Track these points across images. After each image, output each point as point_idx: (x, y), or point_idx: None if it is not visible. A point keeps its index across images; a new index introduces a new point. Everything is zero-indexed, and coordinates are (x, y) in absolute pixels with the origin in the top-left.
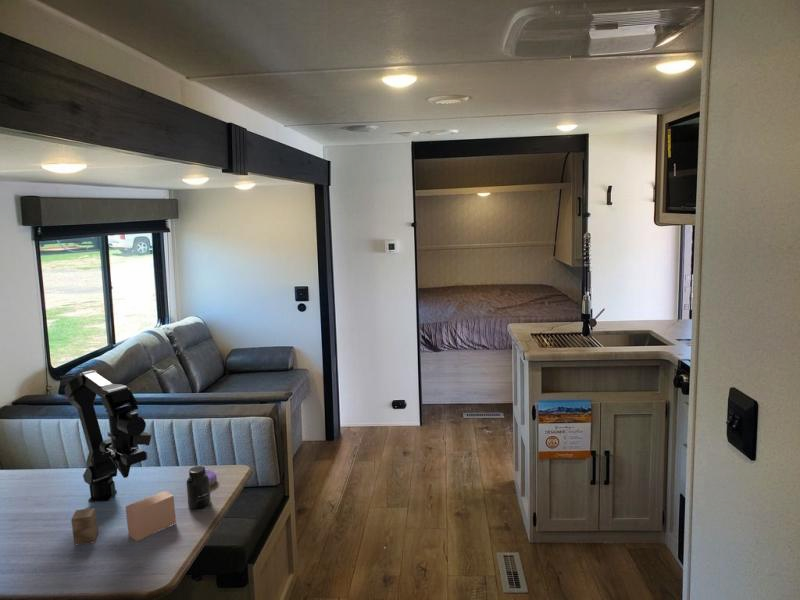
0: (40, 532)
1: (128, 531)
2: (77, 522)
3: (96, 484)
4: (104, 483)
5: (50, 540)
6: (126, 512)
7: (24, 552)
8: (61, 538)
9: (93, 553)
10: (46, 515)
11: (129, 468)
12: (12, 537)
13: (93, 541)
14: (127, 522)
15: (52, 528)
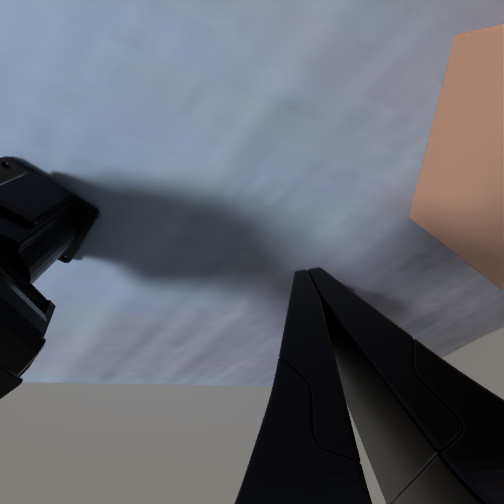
0: (206, 352)
1: (419, 223)
2: None
3: (34, 279)
4: (28, 249)
5: (259, 344)
6: (480, 269)
7: (271, 371)
8: (268, 330)
9: (399, 298)
10: (119, 339)
11: (397, 331)
12: (193, 379)
13: (354, 292)
14: (443, 242)
15: (203, 337)
